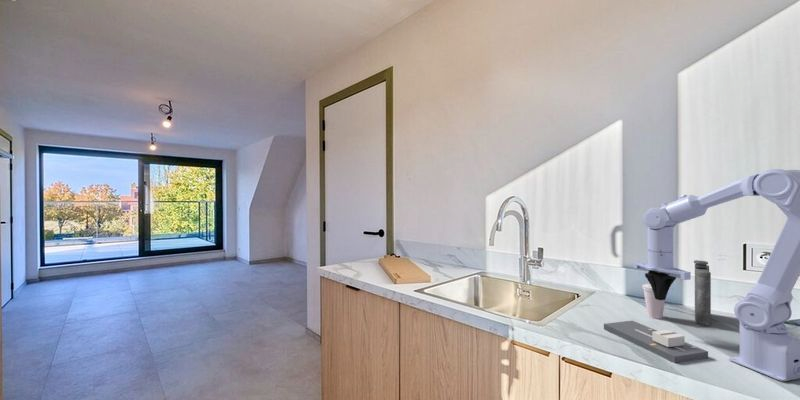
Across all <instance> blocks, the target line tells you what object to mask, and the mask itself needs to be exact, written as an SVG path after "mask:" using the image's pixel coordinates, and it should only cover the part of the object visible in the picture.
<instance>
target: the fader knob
mask: <svg viewBox="0 0 800 400" xmlns="http://www.w3.org/2000/svg"><path fill="white" fill-rule="evenodd" d="M652 340H653V341H655V342H658V343H660V344H662V345H665V346H667V347H673V346H680V345H684V342H685V335H683V334H679V333H677V332H675V331H673V330H670V329H664V330H662V329H661V330H657V331H654V332H652Z"/></svg>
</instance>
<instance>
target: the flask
mask: <svg viewBox="0 0 800 400" xmlns="http://www.w3.org/2000/svg"><path fill="white" fill-rule="evenodd" d="M693 264H694V320H695V322H696V324H697V325H698V326H702V327H707V328H710V327H711V326H712V323H711V321H712V319H711V318H712V317H711V315H712V314H711V313H712V312H711V311H712V307H711V306H712V301H711V299H712V297H711V296H712V295H711V294H712V292H711V290H712V288H711V287H712V286H711V284H712V281H711V280H712V279H711V278H712V277H711V275H712V273H711V271H710V265H708V264H709V261H706V260H697V259H696V260H693Z"/></svg>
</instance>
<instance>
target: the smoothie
mask: <svg viewBox="0 0 800 400" xmlns="http://www.w3.org/2000/svg"><path fill="white" fill-rule="evenodd" d="M641 288H642V289H643V293H644V302H645V308H646V313H647V317H648V318H651V317H652V319H656V320H661V319H663V316H664V315H663V314H664V311H665V310H664V309H665V302H666V299H665V300H657V299H655V296H654V293H653V290H652V287H651V285H650V283H643V284H642V287H641Z"/></svg>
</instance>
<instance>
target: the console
mask: <svg viewBox="0 0 800 400" xmlns="http://www.w3.org/2000/svg"><path fill="white" fill-rule="evenodd" d="M603 329H604V330H605V331H607V332H609V333H612V334H613V335H616V337H617V336H618V337H619V338H622V339H624V340H625V341H628V342H630V343H632V344H634V345H636V346H639V347H640V348H643V349H644V350H647V351H649V352H651V353H653V354H655V355H657V356H660V357H661V358H664V359H666V360H667V361H670V362H671V363H674V364H679V363H681V362H684V363H685V362H690V361H697V360H703V359H708V358H709V351H708V350H705V349H703V348H701V347H699V346H695V345H692V344H690V343H689V342H686V341H684V345H680V346H673V347H667V346H665V345H662V344H660V343H658V342H655V341H653V340H652V332H654V331H658V330H656V329H655V328H651V327H649V326H646V325H644V324H642V323H639V322H637V321H635V320H626V321H616V322H608V323H603Z"/></svg>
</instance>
